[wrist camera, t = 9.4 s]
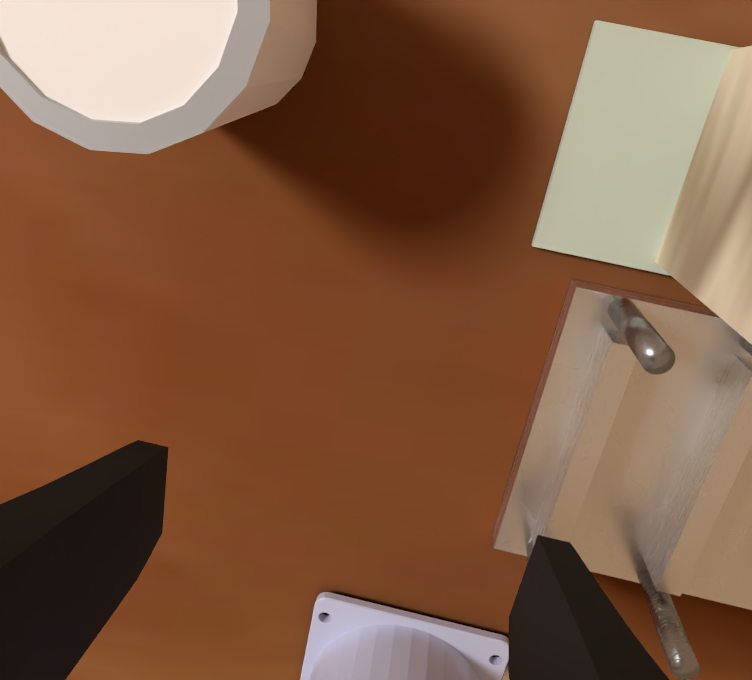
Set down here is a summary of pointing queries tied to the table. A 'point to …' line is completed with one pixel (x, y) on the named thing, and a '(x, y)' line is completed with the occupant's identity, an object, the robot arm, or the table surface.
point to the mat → (628, 143)
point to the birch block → (718, 205)
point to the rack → (641, 453)
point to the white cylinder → (150, 65)
